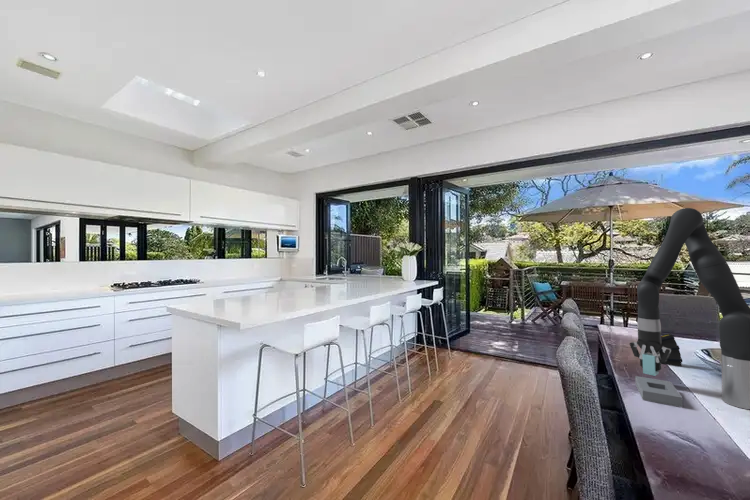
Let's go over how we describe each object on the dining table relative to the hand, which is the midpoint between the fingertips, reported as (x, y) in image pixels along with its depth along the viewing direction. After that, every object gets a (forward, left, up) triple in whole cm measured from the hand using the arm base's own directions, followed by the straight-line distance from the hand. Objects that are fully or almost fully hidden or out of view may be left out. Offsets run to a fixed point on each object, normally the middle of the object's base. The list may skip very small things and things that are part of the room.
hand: (650, 369), depth 134 cm
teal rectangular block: (0, 0, -2) cm, 2 cm away
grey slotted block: (-6, +12, -6) cm, 14 cm away
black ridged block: (+5, -34, -6) cm, 35 cm away
